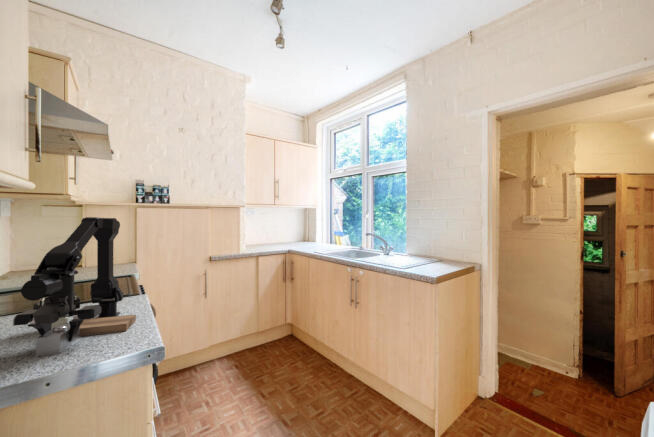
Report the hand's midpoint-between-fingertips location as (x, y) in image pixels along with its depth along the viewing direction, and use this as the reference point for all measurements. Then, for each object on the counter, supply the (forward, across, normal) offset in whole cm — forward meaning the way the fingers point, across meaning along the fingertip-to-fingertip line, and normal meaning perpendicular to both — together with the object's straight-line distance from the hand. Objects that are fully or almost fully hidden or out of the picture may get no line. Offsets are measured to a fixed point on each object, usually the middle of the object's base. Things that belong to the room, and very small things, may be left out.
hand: (59, 342), depth 81 cm
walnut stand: (+1, +7, +12) cm, 14 cm away
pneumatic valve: (+1, -9, +18) cm, 20 cm away
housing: (+1, 0, 0) cm, 1 cm away
